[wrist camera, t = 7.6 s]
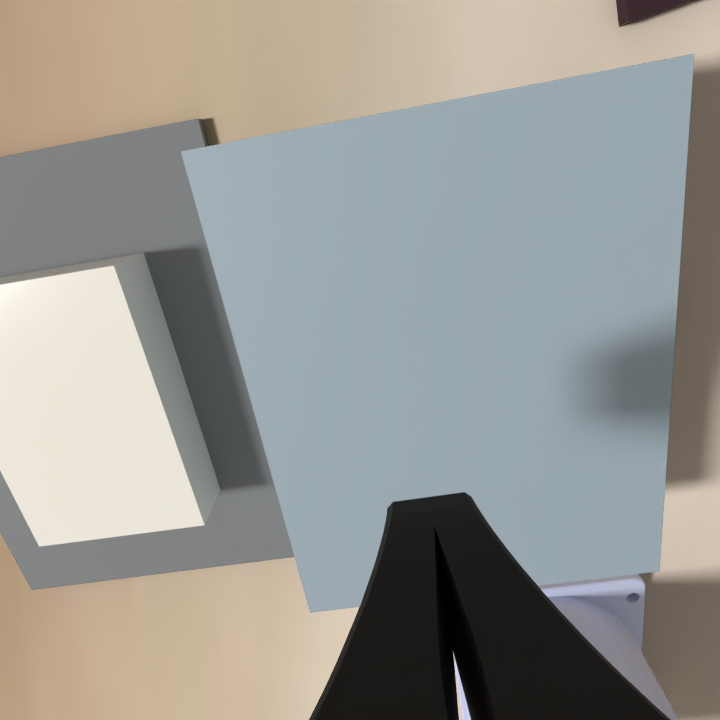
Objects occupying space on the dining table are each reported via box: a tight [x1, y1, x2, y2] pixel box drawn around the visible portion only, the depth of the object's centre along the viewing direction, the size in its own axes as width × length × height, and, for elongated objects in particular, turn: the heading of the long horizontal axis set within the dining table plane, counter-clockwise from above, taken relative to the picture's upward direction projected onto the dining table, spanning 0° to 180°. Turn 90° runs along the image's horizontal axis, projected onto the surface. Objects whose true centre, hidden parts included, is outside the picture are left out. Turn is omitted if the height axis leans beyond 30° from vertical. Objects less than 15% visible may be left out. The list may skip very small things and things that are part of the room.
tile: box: [0, 253, 220, 547], centre depth 17 cm, size 9×6×2 cm, turn 9°
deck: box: [181, 54, 694, 613], centre depth 15 cm, size 14×11×4 cm
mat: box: [0, 119, 294, 590], centre depth 18 cm, size 16×12×1 cm
